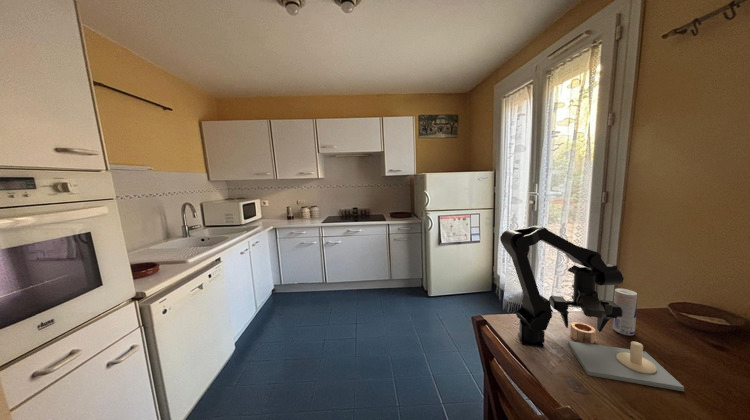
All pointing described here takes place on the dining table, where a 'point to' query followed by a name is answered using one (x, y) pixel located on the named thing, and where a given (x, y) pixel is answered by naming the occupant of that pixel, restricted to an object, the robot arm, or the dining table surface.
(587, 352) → the bobbin board
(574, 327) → the wooden slatted ring
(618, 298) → the beverage can
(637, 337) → the dining table surface
